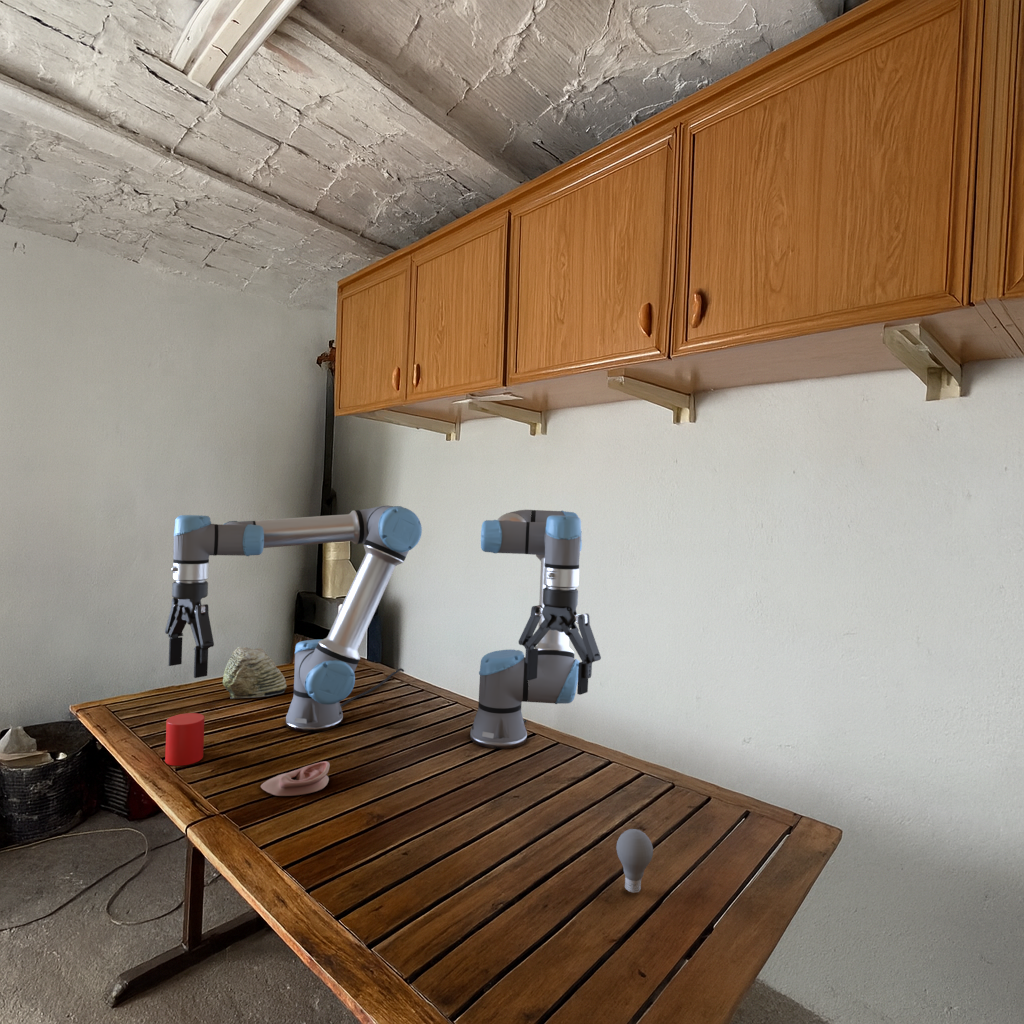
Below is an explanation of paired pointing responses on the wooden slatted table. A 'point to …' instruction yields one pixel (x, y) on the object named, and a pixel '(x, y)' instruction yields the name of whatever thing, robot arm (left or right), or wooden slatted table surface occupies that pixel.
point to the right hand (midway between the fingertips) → (556, 685)
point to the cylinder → (184, 739)
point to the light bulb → (634, 857)
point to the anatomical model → (299, 780)
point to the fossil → (252, 674)
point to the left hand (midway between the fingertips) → (187, 670)
